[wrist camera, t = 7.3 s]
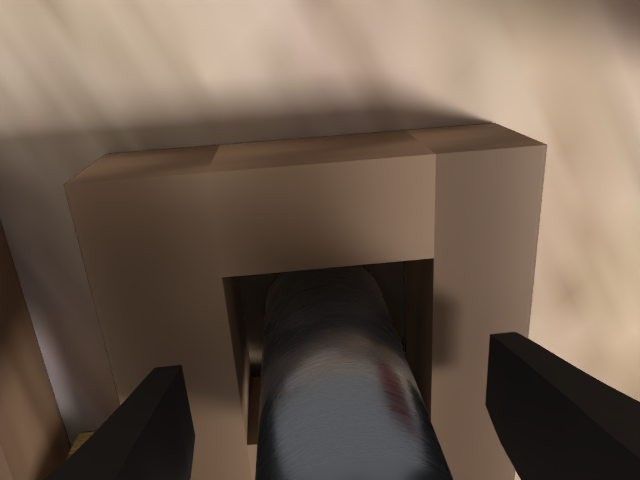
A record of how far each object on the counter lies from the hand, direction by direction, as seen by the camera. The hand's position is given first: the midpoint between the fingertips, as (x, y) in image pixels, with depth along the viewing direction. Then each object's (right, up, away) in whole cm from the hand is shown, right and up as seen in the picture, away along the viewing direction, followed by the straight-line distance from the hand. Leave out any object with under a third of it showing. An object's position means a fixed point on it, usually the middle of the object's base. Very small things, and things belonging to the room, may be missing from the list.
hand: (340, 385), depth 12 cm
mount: (-2, +1, +4) cm, 5 cm away
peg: (0, +1, +4) cm, 4 cm away
